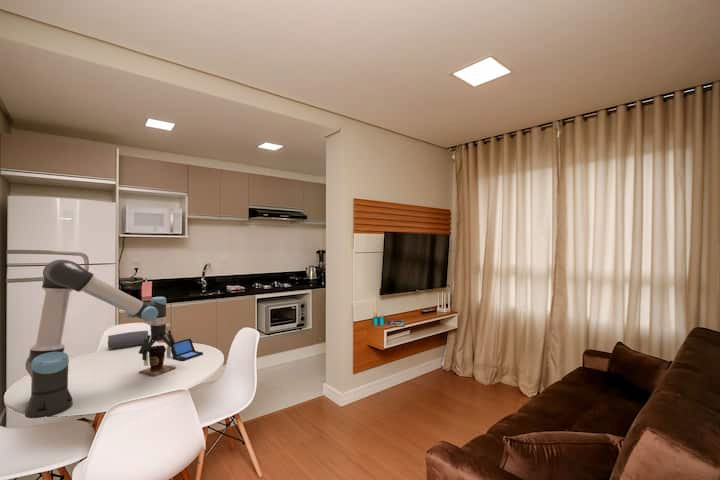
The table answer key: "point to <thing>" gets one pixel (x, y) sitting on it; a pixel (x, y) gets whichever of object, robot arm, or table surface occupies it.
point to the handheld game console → (184, 350)
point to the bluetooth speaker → (126, 339)
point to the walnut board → (156, 373)
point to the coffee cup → (156, 357)
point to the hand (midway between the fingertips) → (157, 361)
